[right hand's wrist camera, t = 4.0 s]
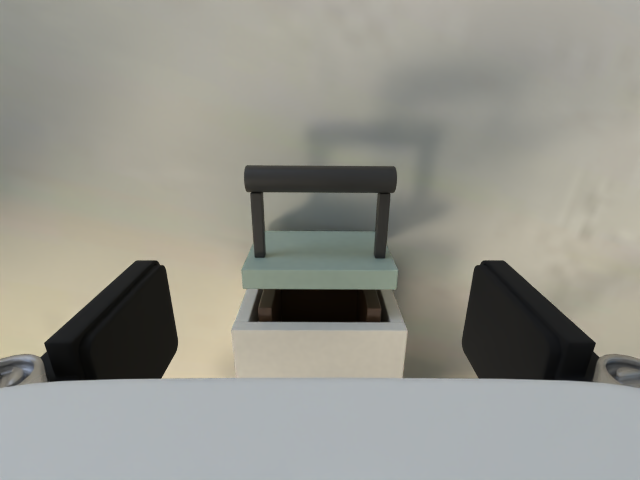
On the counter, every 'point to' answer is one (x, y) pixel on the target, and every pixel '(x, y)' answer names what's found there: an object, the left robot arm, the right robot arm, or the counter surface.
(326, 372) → the open cream box
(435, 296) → the counter surface
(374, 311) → the drawer
